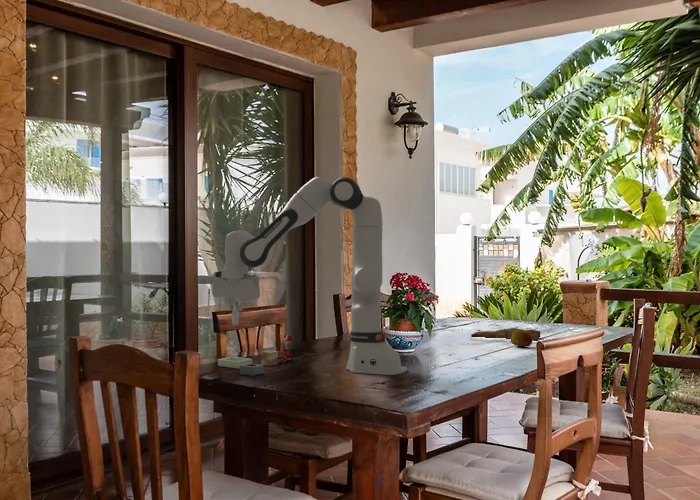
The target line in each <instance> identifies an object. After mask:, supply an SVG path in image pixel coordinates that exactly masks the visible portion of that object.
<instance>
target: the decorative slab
mask: <svg viewBox="0 0 700 500" xmlns="http://www.w3.org/2000/svg"><path fill="white" fill-rule="evenodd" d="M516 330H521V331H528V332H530V334H531V336H532V340H534V341H538V339H539V337H540V338H541V330H537V329H523V328H522V329H521V328H516V327H511V328H506V329H505V328H503V329H499V330H494V331H491V330H486V331H485V330H483V331H475V332H474V333H472V334H471V337H485V338H506V339H511V336H512V334H513V332H514V331H516ZM539 340H540V339H539ZM538 342H539V341H538Z"/></svg>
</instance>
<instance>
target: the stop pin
mask: <svg viewBox="0 0 700 500" xmlns="http://www.w3.org/2000/svg"><path fill="white" fill-rule="evenodd" d="M232 303H233V309H232V310H231V311H232V318H231V319H232V320H231V321H232V323H231V324H232V326H239V325H240V322H239V320H240V319H239V318H240V317H239V316H240V311H238V310H237V306H239V304H240V301H239V300H232Z"/></svg>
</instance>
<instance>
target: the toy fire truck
mask: <svg viewBox="0 0 700 500" xmlns="http://www.w3.org/2000/svg"><path fill="white" fill-rule="evenodd" d="M294 340H295V339H294V335H292V334H291V335H289V334H288V335H287V334H283V340H282V341H281V346H282V349H281V350H277V351H278V363H283V364H285V363H286V362H289V361H290V360H291V354H290V353H291V352H290V351H291V350H290V349H288V344H287V342H293V341H294Z"/></svg>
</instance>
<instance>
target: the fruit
mask: <svg viewBox="0 0 700 500" xmlns="http://www.w3.org/2000/svg"><path fill="white" fill-rule="evenodd" d="M510 343H512V345H513V344H514V346H515V345H518V346H529V347H530V346H531V345H532V344H533V343H532V336H531V334H530V332H528V331H521V330H516V331H514V332H513V334H512V336H511V342H510Z"/></svg>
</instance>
